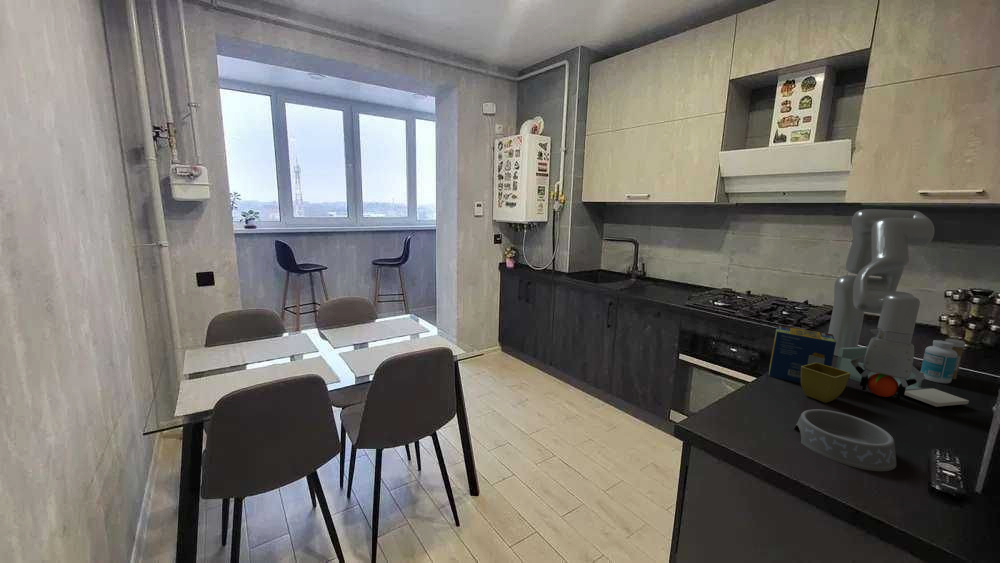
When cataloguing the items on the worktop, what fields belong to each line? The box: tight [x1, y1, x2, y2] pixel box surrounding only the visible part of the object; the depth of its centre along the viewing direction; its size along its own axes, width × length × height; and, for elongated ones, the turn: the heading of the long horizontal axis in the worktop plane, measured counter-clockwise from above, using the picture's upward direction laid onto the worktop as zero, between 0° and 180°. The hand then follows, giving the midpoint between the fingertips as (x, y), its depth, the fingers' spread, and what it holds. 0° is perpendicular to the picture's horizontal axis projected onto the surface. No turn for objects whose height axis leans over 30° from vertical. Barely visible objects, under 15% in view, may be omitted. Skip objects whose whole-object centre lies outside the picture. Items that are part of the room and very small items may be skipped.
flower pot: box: [800, 363, 850, 404], centre depth 116 cm, size 9×9×9 cm
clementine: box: [866, 373, 899, 398], centre depth 120 cm, size 8×7×7 cm
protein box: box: [768, 324, 836, 384], centre depth 131 cm, size 10×15×16 cm
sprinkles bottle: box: [944, 338, 966, 380], centre depth 139 cm, size 5×5×13 cm
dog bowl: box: [793, 408, 897, 472], centre depth 91 cm, size 17×18×5 cm
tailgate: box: [904, 387, 970, 408], centre depth 118 cm, size 1×13×9 cm
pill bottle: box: [919, 339, 958, 384], centre depth 136 cm, size 8×7×14 cm
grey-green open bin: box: [835, 346, 924, 395], centre depth 131 cm, size 17×13×9 cm
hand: (880, 392), depth 120 cm, fingers closed on clementine, 7 cm apart
